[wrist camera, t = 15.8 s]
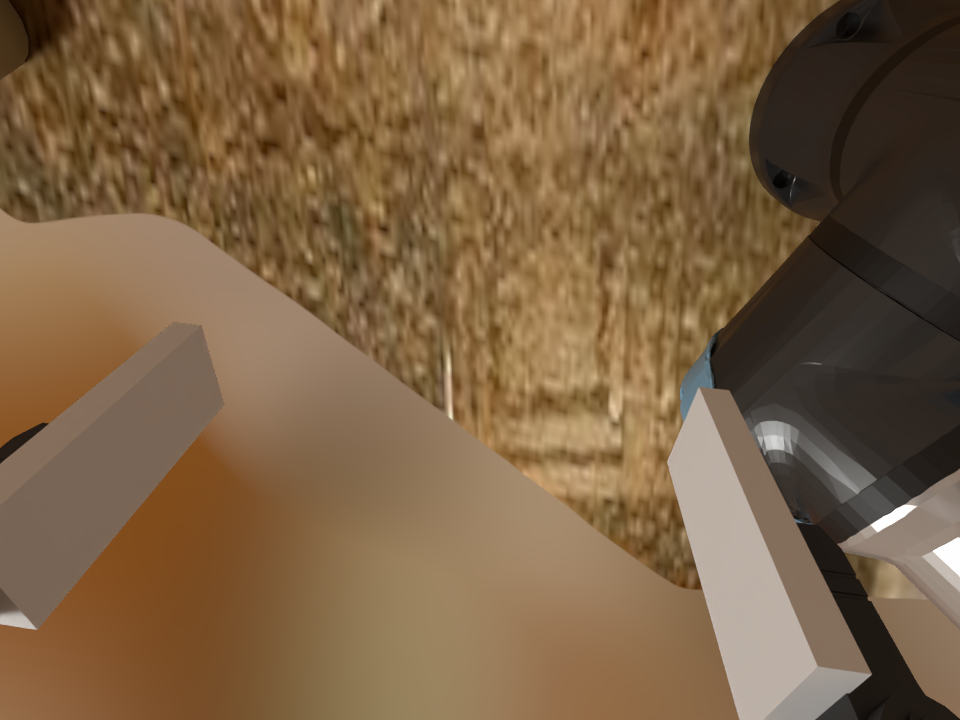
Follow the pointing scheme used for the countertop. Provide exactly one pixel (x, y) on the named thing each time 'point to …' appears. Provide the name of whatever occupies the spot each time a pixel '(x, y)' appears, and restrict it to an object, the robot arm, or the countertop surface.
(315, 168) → the countertop surface
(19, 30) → the squeeze bottle
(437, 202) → the countertop surface
